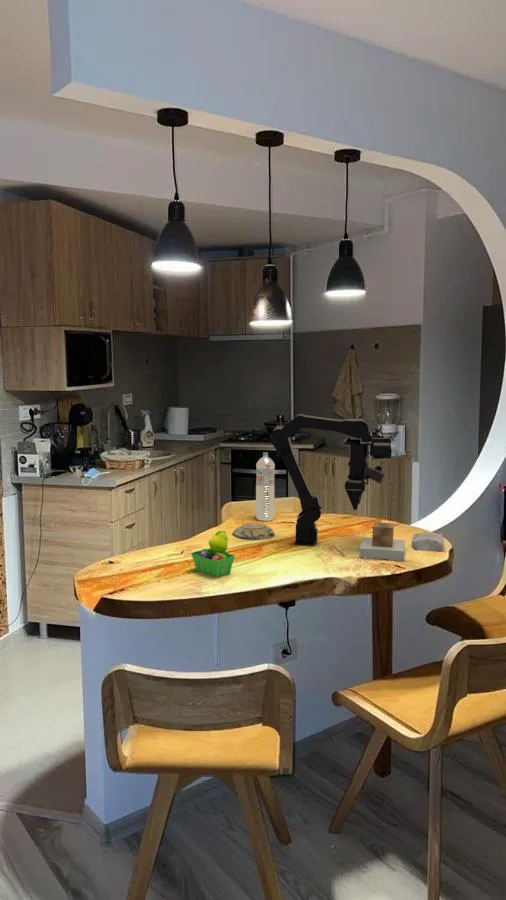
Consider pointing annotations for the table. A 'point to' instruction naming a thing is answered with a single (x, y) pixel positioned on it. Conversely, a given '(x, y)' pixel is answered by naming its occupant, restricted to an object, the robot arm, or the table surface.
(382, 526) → the cube
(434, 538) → the stone block
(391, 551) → the tile
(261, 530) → the decorative bowl
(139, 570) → the table surface
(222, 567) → the fruit basket
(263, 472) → the water bottle
